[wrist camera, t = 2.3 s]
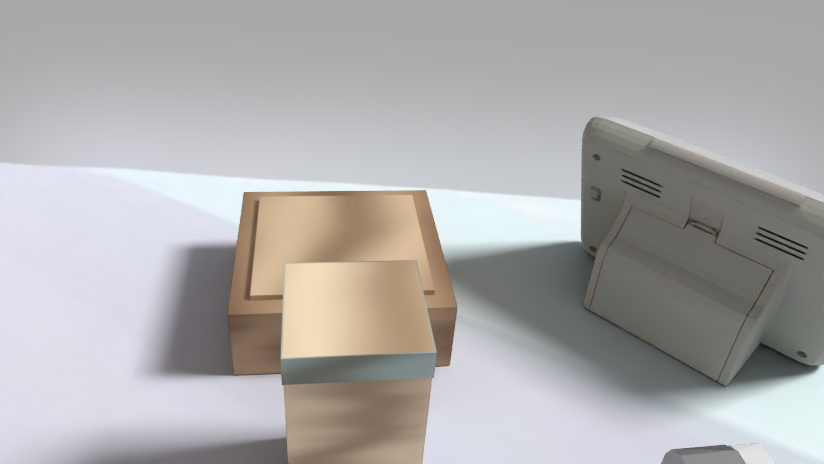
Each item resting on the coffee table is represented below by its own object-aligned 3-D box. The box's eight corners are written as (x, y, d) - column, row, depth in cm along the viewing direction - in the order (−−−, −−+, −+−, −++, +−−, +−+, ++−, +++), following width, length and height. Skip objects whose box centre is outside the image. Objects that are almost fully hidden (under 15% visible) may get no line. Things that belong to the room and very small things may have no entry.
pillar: (290, 537, 28) (280, 359, 23) (292, 435, 32) (284, 263, 27) (416, 528, 29) (436, 352, 23) (402, 429, 33) (416, 259, 27)
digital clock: (849, 370, 38) (946, 207, 32) (757, 442, 34) (849, 268, 28) (620, 226, 49) (661, 83, 43) (526, 266, 44) (557, 112, 38)
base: (234, 375, 35) (226, 309, 33) (248, 246, 44) (243, 187, 42) (449, 365, 37) (458, 302, 34) (421, 242, 46) (426, 186, 43)
